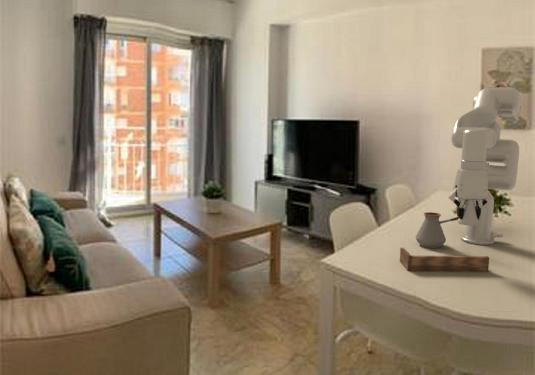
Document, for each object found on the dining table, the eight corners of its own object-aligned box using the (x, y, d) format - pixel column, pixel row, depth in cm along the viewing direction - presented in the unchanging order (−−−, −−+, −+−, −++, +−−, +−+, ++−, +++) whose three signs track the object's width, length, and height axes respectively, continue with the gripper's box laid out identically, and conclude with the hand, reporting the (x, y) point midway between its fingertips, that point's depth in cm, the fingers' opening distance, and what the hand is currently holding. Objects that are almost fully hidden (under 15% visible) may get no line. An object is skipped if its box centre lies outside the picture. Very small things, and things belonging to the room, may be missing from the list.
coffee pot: (410, 246, 186) (413, 209, 184) (420, 239, 195) (423, 204, 193) (467, 256, 174) (470, 217, 171) (475, 249, 183) (478, 211, 180)
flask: (478, 222, 164) (481, 194, 162) (480, 227, 157) (483, 197, 155) (456, 220, 166) (458, 192, 164) (457, 225, 159) (459, 196, 157)
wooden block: (475, 261, 168) (476, 248, 167) (488, 271, 158) (489, 257, 157) (399, 261, 168) (400, 247, 167) (407, 270, 158) (408, 256, 157)
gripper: (492, 164, 162) (488, 216, 165) (443, 164, 162) (439, 216, 165) (503, 167, 154) (498, 221, 157) (451, 167, 154) (447, 221, 157)
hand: (468, 218), depth 161 cm, fingers closed on flask, 4 cm apart
